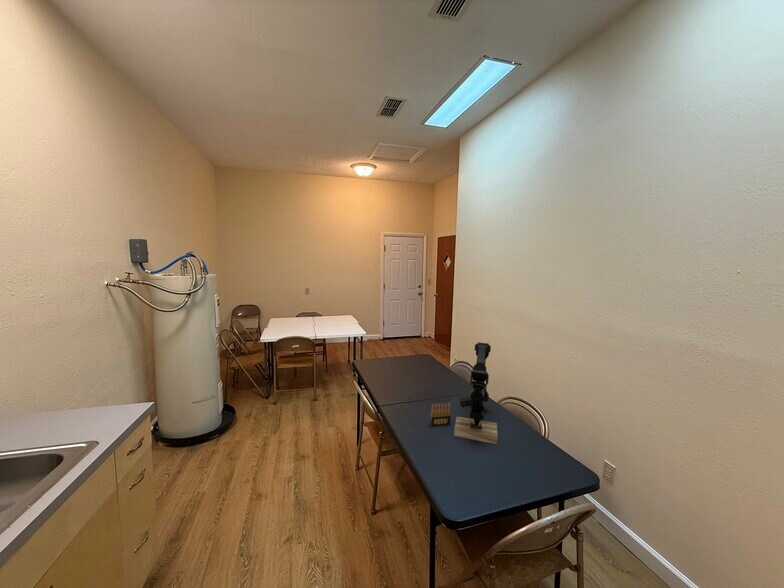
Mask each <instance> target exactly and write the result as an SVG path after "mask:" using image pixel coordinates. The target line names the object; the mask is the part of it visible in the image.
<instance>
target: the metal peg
mask: <svg viewBox="0 0 784 588" xmlns="http://www.w3.org/2000/svg"><path fill="white" fill-rule="evenodd" d="M478 410H479V409H478ZM471 419H472V418H471ZM481 421H482V420H481ZM481 421H480V423H479V424H478V426H475V423H474V419H472V428H474V429H480V424H481Z"/></svg>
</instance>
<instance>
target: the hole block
mask: <svg viewBox="0 0 784 588" xmlns="http://www.w3.org/2000/svg"><path fill="white" fill-rule="evenodd" d="M455 419H456V420H455V424H454V431H453V436H454V437H457V438H462V439H468V440H474V441H477V442H483V443H484V442H485V443H490V444H495V445H497V444H498V435H499V434H498V422H491V421H487V420H486V421H484V420H481V424H480V429H474V428H472V418H466V417H461V416H456V418H455Z"/></svg>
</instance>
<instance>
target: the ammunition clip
mask: <svg viewBox="0 0 784 588" xmlns="http://www.w3.org/2000/svg"><path fill="white" fill-rule="evenodd" d="M447 404H448V405H447ZM429 426H430V428H433V427H444V426H445V427H446V426H447V427H448V426H451V403H450V402H448V403H446V402H445V404H444V403H443V402H442V403H438V404H437V403H435V404H434V403H431V409H430V418H429Z"/></svg>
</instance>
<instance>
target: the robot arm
mask: <svg viewBox="0 0 784 588" xmlns="http://www.w3.org/2000/svg"><path fill="white" fill-rule="evenodd" d="M491 349H492V347H491V345H490V344H489V343H486V342H477V343H475V344H474V352H475V356H476V363H475V364H474V365H473V367H472V370H470V371H471V372H470V381H469V385H470V386H472V389H471V392H470V393H471V394H470V396H463V397H460V398H459V405H460V407H461V408H463V409H464V408H467V407H470V408H471V409H470V410H469V419H474V423H475V426H478V424H479V423H480V421H484V419H485V418H484V416H485V415H484V414H485V413H486V407H485V403H488V402H489V400H490V399H489V398H490V394H489V392H488V391H487V388H488V387H487V385H489V377H490V375H489V373H488V371H487V366H486V363H487V362H486V360H487V359H488V357H489V356H490V353H491ZM478 409H479V410H478Z"/></svg>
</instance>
